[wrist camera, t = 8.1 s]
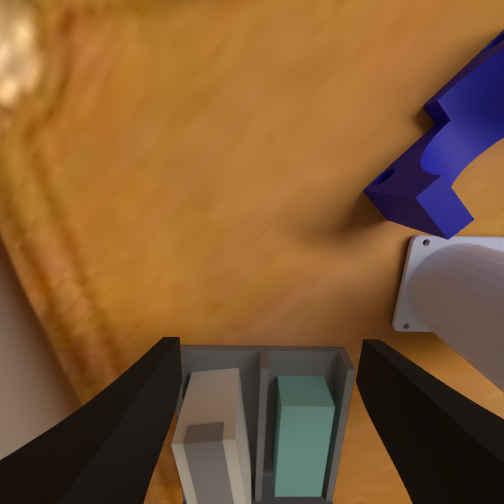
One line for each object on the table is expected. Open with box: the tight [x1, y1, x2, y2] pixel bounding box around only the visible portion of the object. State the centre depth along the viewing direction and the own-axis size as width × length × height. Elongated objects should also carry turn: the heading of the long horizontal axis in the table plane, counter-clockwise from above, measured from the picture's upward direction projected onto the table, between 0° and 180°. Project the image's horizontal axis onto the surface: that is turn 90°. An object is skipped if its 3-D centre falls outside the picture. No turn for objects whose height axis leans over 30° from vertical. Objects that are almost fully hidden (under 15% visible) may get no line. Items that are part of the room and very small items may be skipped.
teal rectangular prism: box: [272, 376, 335, 497], centre depth 22 cm, size 4×10×3 cm, turn 179°
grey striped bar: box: [171, 368, 251, 504], centre depth 20 cm, size 4×10×6 cm, turn 6°
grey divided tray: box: [176, 345, 356, 504], centre depth 22 cm, size 14×16×3 cm
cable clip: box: [363, 30, 504, 240], centre depth 14 cm, size 12×4×6 cm, turn 135°
